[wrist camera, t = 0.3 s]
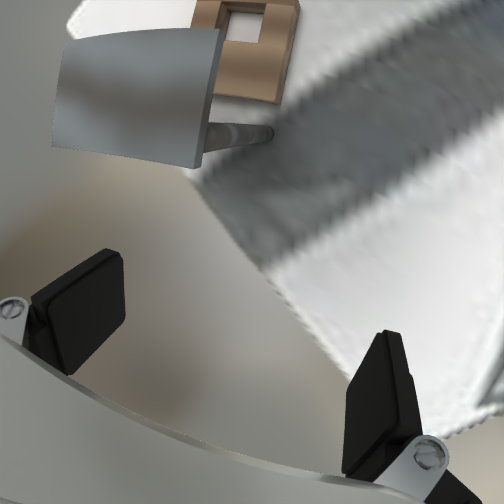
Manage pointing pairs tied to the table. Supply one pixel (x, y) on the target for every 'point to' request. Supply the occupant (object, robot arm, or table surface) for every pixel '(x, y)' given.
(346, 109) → the table surface
